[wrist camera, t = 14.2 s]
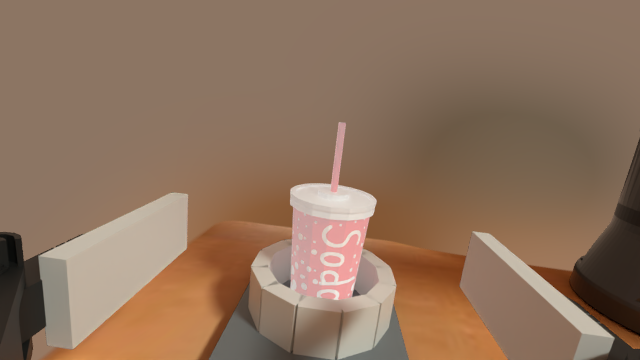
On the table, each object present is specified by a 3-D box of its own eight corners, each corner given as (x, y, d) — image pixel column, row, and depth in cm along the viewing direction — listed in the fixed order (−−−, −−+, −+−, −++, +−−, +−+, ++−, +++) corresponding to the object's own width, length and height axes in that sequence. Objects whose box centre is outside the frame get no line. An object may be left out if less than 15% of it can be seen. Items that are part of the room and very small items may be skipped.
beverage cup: (271, 326, 21) (289, 118, 18) (287, 279, 27) (303, 116, 24) (360, 340, 21) (394, 130, 18) (357, 289, 27) (382, 125, 24)
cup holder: (381, 276, 32) (388, 235, 31) (419, 433, 17) (436, 361, 16) (265, 260, 33) (268, 220, 32) (197, 399, 17) (199, 327, 16)
